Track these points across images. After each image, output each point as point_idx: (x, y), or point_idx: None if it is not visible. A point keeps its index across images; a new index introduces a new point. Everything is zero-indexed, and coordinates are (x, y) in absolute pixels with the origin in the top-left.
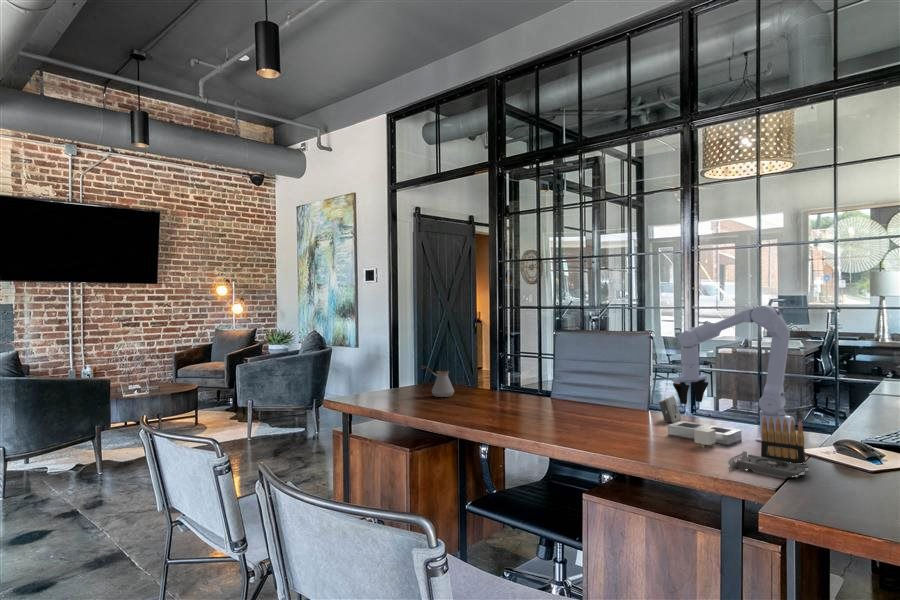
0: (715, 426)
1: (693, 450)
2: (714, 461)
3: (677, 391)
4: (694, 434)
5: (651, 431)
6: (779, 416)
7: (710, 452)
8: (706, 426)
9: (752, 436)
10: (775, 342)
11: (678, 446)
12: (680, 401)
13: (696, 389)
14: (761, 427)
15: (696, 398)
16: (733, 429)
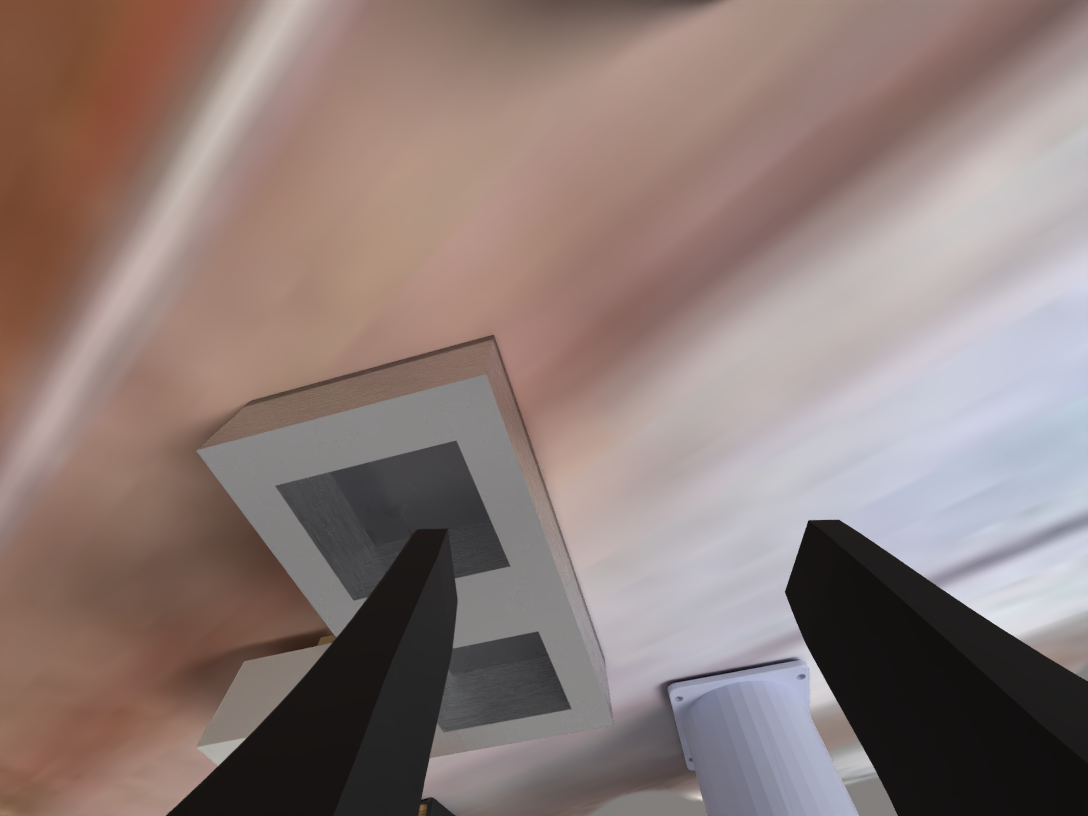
0: (563, 625)
1: (197, 677)
2: (187, 779)
3: (245, 769)
4: (216, 713)
5: (177, 204)
6: None
7: None
8: (500, 603)
9: (762, 628)
10: None
11: (155, 611)
12: (403, 558)
13: (1003, 781)
14: (718, 774)
15: (835, 575)
16: (588, 704)
